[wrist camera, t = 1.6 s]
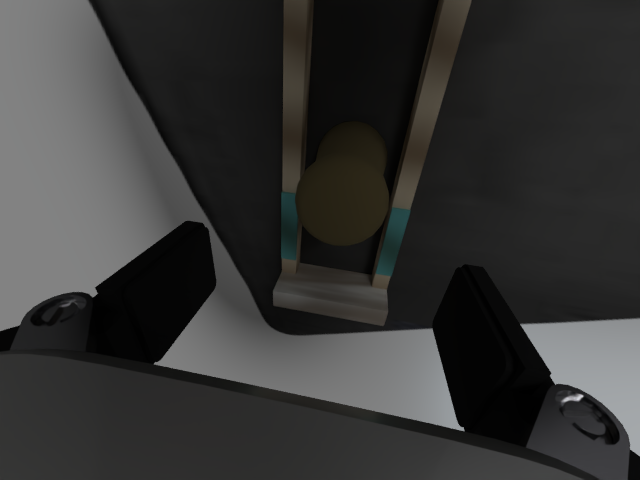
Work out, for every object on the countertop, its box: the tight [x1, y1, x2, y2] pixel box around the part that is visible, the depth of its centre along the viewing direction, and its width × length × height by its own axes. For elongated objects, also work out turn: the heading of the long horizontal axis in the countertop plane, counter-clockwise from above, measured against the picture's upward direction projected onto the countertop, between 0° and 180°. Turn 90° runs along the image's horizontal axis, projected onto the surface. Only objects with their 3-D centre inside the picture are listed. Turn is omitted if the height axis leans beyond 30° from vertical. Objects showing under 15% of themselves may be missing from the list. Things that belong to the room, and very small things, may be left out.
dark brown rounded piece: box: [295, 121, 389, 246], centre depth 18 cm, size 6×6×11 cm
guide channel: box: [273, 0, 472, 326], centre depth 20 cm, size 30×11×5 cm, turn 175°
